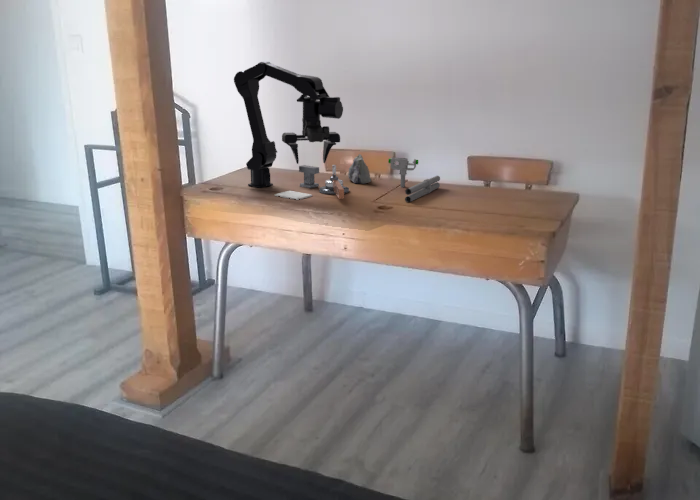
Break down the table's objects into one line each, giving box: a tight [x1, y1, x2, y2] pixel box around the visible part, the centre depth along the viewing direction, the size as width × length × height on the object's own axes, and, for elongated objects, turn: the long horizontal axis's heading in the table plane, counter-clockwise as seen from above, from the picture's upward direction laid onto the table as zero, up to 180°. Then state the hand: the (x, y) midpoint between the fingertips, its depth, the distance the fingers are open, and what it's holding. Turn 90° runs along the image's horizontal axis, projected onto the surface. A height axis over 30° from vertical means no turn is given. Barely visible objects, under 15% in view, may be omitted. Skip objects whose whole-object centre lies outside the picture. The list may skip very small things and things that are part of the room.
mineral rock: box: [347, 153, 372, 185], centre depth 255 cm, size 13×11×10 cm
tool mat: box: [274, 190, 313, 201], centre depth 231 cm, size 10×7×1 cm
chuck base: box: [318, 185, 350, 196], centre depth 238 cm, size 10×10×1 cm
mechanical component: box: [388, 157, 419, 188], centre depth 245 cm, size 3×10×10 cm, turn 78°
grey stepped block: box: [298, 164, 320, 189], centre depth 245 cm, size 7×4×7 cm, turn 52°
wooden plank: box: [324, 164, 345, 200], centre depth 230 cm, size 20×6×8 cm, turn 9°
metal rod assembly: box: [404, 175, 441, 203], centre depth 234 cm, size 26×3×5 cm, turn 152°
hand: (310, 163), depth 236 cm, fingers open, 9 cm apart
